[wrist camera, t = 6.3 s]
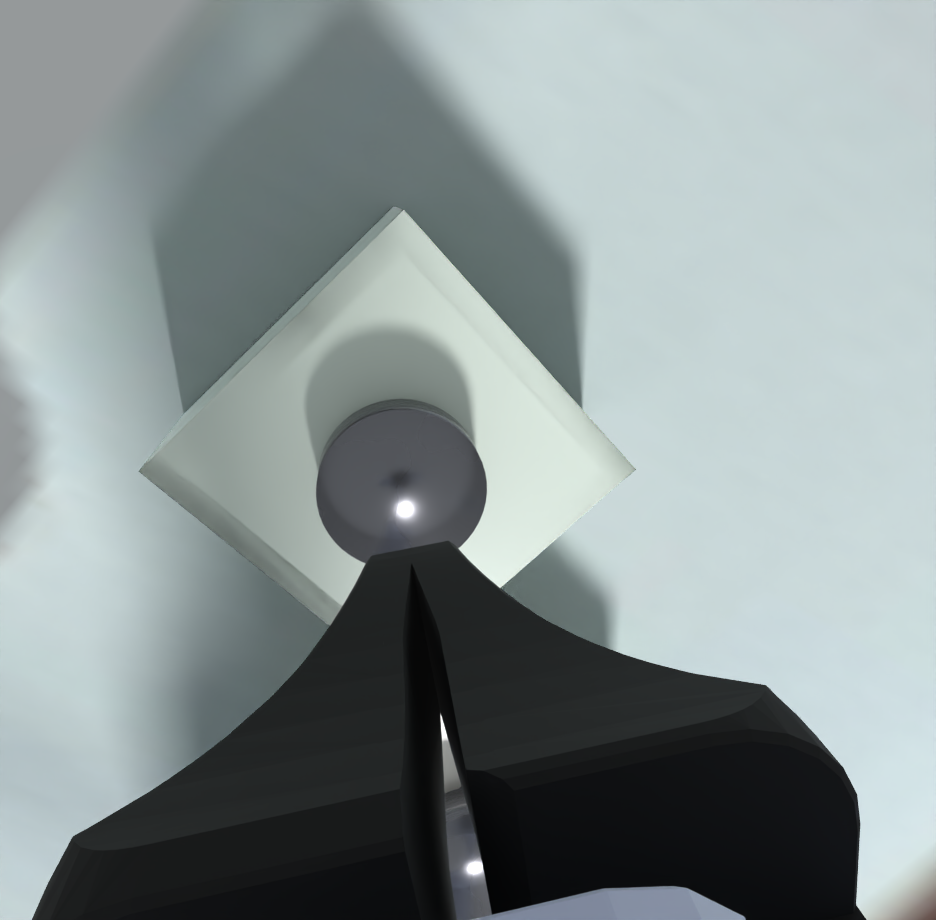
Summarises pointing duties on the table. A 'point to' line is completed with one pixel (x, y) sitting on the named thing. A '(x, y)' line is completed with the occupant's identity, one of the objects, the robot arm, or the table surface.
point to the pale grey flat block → (369, 381)
